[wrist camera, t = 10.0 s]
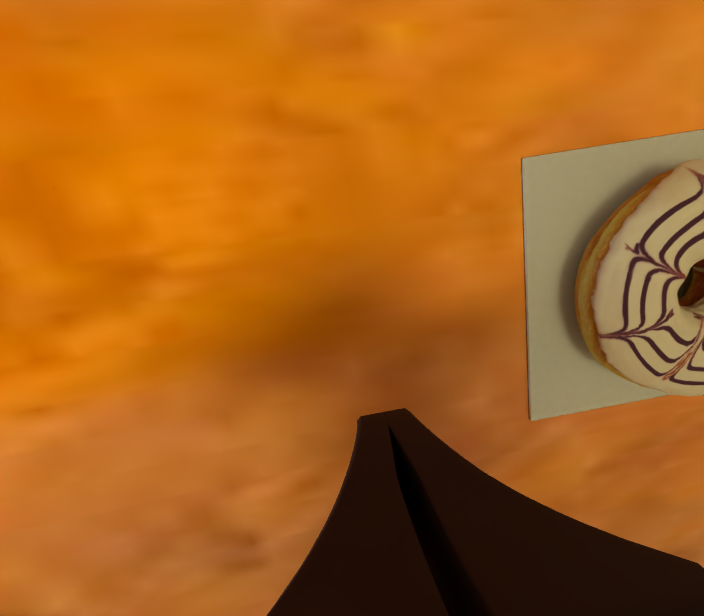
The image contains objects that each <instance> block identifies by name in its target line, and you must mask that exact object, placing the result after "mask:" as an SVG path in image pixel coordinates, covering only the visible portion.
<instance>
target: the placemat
mask: <svg viewBox="0 0 704 616" xmlns="http://www.w3.org/2000/svg"><path fill="white" fill-rule="evenodd" d="M697 159H703V160H704V129H702V130H696V131H689V132H683V133H677V134H671V135H664V136H658V137H652V138H646V139H639V140H633V141H627V142H620V143H614V144H608V145H602V146H595V147H589V148H583V149H576V150H570V151H564V152H558V153H551V154H545V155H539V156H533V157H526V158H522V180H523V215H524V249H525V284H526V318H527V353H528V387H529V419H530V420H531V421H534V420H540V419H545V418H550V417H555V416H561V415H566V414H571V413H576V412H582V411H587V410H592V409H597V408H602V407H608V406H613V405H618V404H623V403H629V402H634V401H639V400H644V399H650V398H655V397H660V396H665V395H671V394H667V393H665V392H662V391H659V390H656V389H653V388H646V387H642V386H639V385H638V384H636V383H633V382H630V381H628V380H625V379H623V378H622V377H620V376H618V375H617V374H615V373H613V372H611V371H609V370H607V369H606V368H604V367H603V366H602V365H600V364H599V363H598V362H597V361H596V360H595V359H594V357H593V356H592V355H591V353H590V351H589V350H588V347H587V345H586V343H585V341H584V338H583V336H582V334H581V332H580V329H579V325H578V322H577V317H576V309H575V305H574V304H575V302H574V300H575V299H574V293H575V292H574V291H575V281H576V277H577V273H578V266H579V265H580V264H579V262H581V260H582V257H583V254H584V252H585V249H586V247H587V245H588V244H589V242H590V240H591V239H592V238H593V236H595V234H596V233H597V232H598V230H599V229H600V227H601V226H602V225H603V224H604V223H605V221H606V220H607V219H608V218H609V217H610V216H611V215H612V213H613V212H614V211H615V210H616V209H617V208H618V207H619V206H620V205H622V204H623V202H625V201H626V200H627V199H628V198H630V197H631V196H632V195H633V194H634V193H636V192H637V191H638V190H639V189H640V188H642V187H643V186H644V185H645V184H647V183H648V182H649V181H650V180H651V179H652V178H654V177H655V176H657V175H658V174H661V173H664V172H666V171H669V170H672V169H675V167H676V166H677V165H678V164H679V163H682V162H685V161H689V160H697ZM693 272H694V270H693V267H691V268H690V270H689V272H688V275H687V277H686V279H685V280H684V282H683V283H682V285H681V286H680V287H679V289H678V292H677V296H678V300H679V299H680V298H681V297H682V296H683V295H684V294H685V293H686V292H687V290H688V289H689V287H690V284H691V283H692V278H693Z"/></svg>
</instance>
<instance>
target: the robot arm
mask: <svg viewBox="0 0 704 616" xmlns="http://www.w3.org/2000/svg"><path fill="white" fill-rule="evenodd" d="M267 616H704V568H703V567H702V566H700V565H699V564H698V563H695V562H692V561H689V560H686V559H683V558H680V557H677V556H674V555H671V554H668V553H665V552H662V551H659V550H656V549H653V548H650V547H647V546H644V545H641V544H637V543H634V542H631V541H628V540H625V539H623V538H620V537H617V536H615V535H612V534H610V533H607V532H605V531H602V530H600V529H597V528H595V527H592V526H589V525H587V524H584V523H582V522H580V521H577V520H575V519H573V518H570V517H568V516H566V515H563V514H561V513H559V512H557V511H555V510H553V509H551V508H549V507H547V506H544V505H542V504H540V503H538V502H536V501H534V500H532V499H530V498H528V497H526V496H524V495H522V494H520V493H519V492H517V491H515V490H513V489H511V488H510V487H508V486H506V485H504V484H503V483H501V482H499V481H498V480H496V479H494V478H493V477H491V476H489V475H488V474H486V473H484V472H483V471H481V470H480V469H478V468H477V467H476V466H474V465H473V464H471V463H470V462H469V461H467V460H466V459H464V458H463V457H462V456H460V455H459V454H458V453H456V452H455V451H454V450H453V449H451V448H450V447H449V446H448V445H446V444H445V443H444V442H443V441H441V440H440V439H439V438H438V437H437V436H435V435H434V434H433V433H432V432H431V431H430V430H429V429H427V428H426V427H425V426H424V425H423V424H422V423H421V422H420V421H419V420H418V419H417V418H416V417H415V416H414V415H413V414H412V413H411V412H410V411H408V410H407V409H405V408H402V409H397V410H392V411H386V412H381V413H376V414H370V415H365V416H361V417H360V418H359V419H358V420H357V435H356V441H355V446H354V450H353V453H352V457H351V461H350V464H349V468H348V471H347V473H346V476H345V479H344V482H343V484H342V487H341V490H340V492H339V495H338V497H337V500H336V502H335V504H334V506H333V509H332V511H331V513H330V515H329V517H328V519H327V521H326V523H325V525H324V527H323V529H322V531H321V533H320V534H319V536H318V538H317V540H316V542H315V543H314V545H313V547H312V549H311V551H310V552H309V554H308V556H307V557H306V559H305V561H304V562H303V564H302V565H301V567H300V568H299V570H298V571H297V573H296V574H295V576H294V577H293V579H292V580H291V582H290V583H289V585H288V586H287V588H286V589H285V590H284V592H283V593H282V595H281V596H280V598H279V599H278V601H277V602H276V604H275V605H274V606H273V608H272V609H271V610H270V612H269V613H268V614H267Z"/></svg>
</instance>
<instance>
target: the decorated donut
mask: <svg viewBox="0 0 704 616" xmlns="http://www.w3.org/2000/svg"><path fill="white" fill-rule="evenodd" d="M579 264H580V265H579V266H578V273H577V277H576V281H575V291H574V292H575V293H574V299H575V300H574V302H575V304H574V305H575V309H576V317H577V322H578V325H579V329H580V332H581V334H582V336H583V338H584V341H585V343H586V345H587V347H588V350H589V351H590V353H591V355H592V356H593V357H594V359H595V360H596V361H597V362H598V363H599V364H600V365H602V366H603V367H604V368H606V369H607V370H609V371H611V372H613V373H615V374H617V375H618V376H620V377H622V378H623V379H625V380H628V381H630V382H633V383H636V384H638V385H639V386H642V387H646V388H653V389H656V390H659V391H662V392H665V393H667V394H671V395H677V396H702V395H704V160H703V159H697V160H689V161H685V162H682V163H679V164H678V165H677V166H676V167H675V169H672V170H669V171H666V172H664V173H661V174H658V175H657V176H655V177H654V178H652V179H651V180H650V181H649V182H648V183H647V184H645V185H644V186H643V187H642V188H640V189H639V190H638V191H637V192H636V193H634V194H633V195H632V196H631V197H630V198H628V199H627V200H626V201H625V202H623V204H622V205H620V206H619V207H618V208H617V209H616V210H615V211H614V212H613V213H612V215H611V216H610V217H609V218H608V219H607V220H606V221H605V223H604V224H603V225H602V226H601V227H600V229H599V230H598V232H597V233H596V234H595V236H593V238H592V239H591V240H590V242H589V244H588V245H587V247H586V249H585V252H584V254H583V257H582V260H581V262H579ZM691 267H693V270H694V272H693V278H692V283H691V284H690V287H689V289H688V290H687V292H686V293H685V294H684V295H683V296H682V297H681V298H680V299H679V300H678V296H677V292H678V289H679V287H680V286H681V285H682V283H683V282H684V280H685V279H686V277H687V275H688V272H689V270H690V268H691Z"/></svg>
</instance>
